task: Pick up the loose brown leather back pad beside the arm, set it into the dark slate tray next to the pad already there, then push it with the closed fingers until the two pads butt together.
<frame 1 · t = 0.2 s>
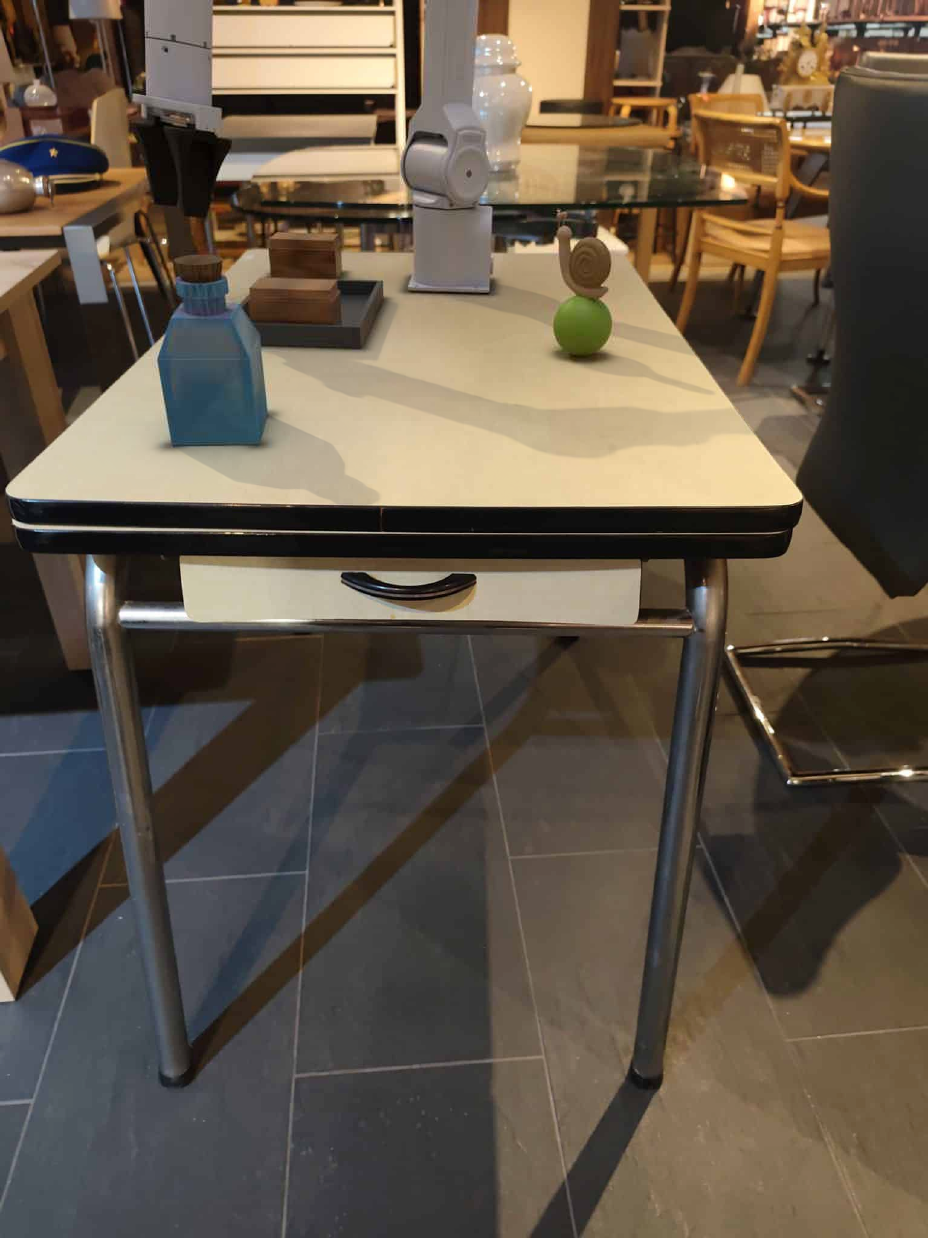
hand: (179, 210, 85), 10 cm above the table, tool pointing down, fingers open, 7 cm apart
pad b: (307, 275, 109), on the table
perfume bottle: (222, 431, 66), on the table
tray: (310, 319, 92), on the table
snail figurine: (575, 355, 84), on the table
pad a: (297, 331, 86), resting on tray
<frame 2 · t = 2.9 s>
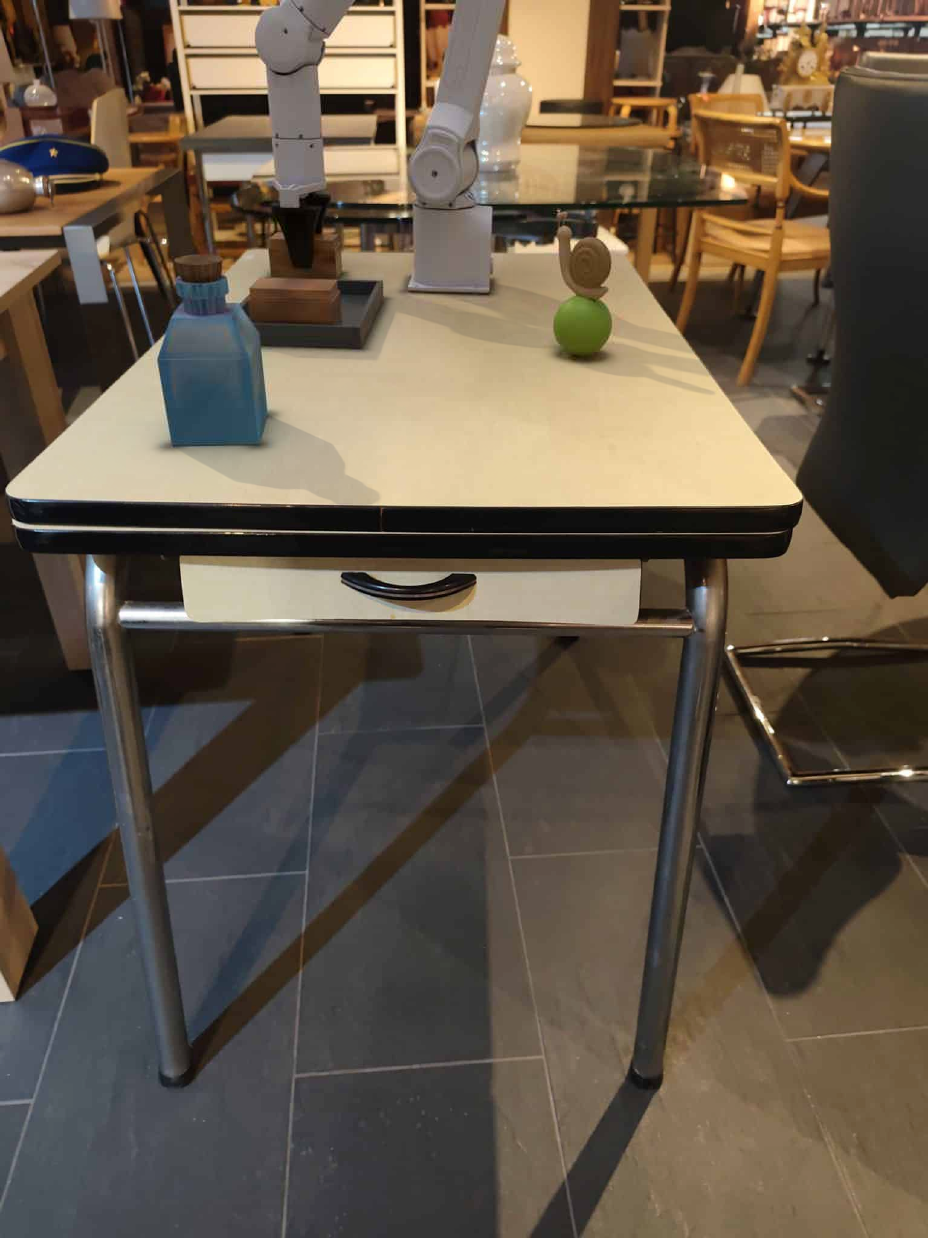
hand: (306, 263, 108), 1 cm above the table, tool pointing down, fingers closed on pad b, 4 cm apart
pad b: (307, 275, 109), on the table, touching gripper
everything else where it was.
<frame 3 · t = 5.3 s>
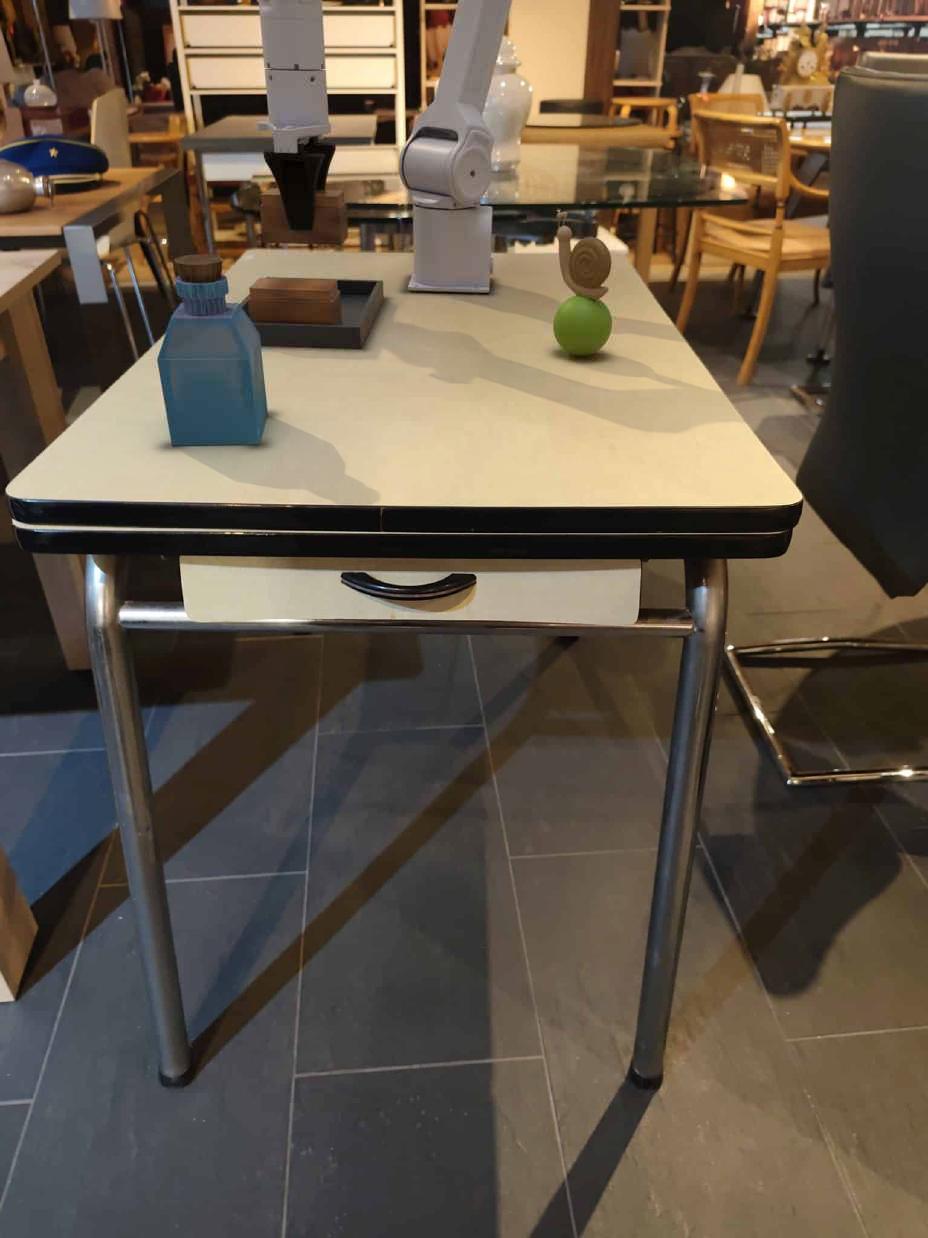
hand: (306, 225, 91), 8 cm above the table, tool pointing down, fingers closed on pad b, 4 cm apart
pad b: (306, 239, 92), point 7 cm above the table, touching gripper
everything else where it was.
when the fingers open (2 cm above the table, at t = 7.6 s): pad b stays where it is, resting on tray.
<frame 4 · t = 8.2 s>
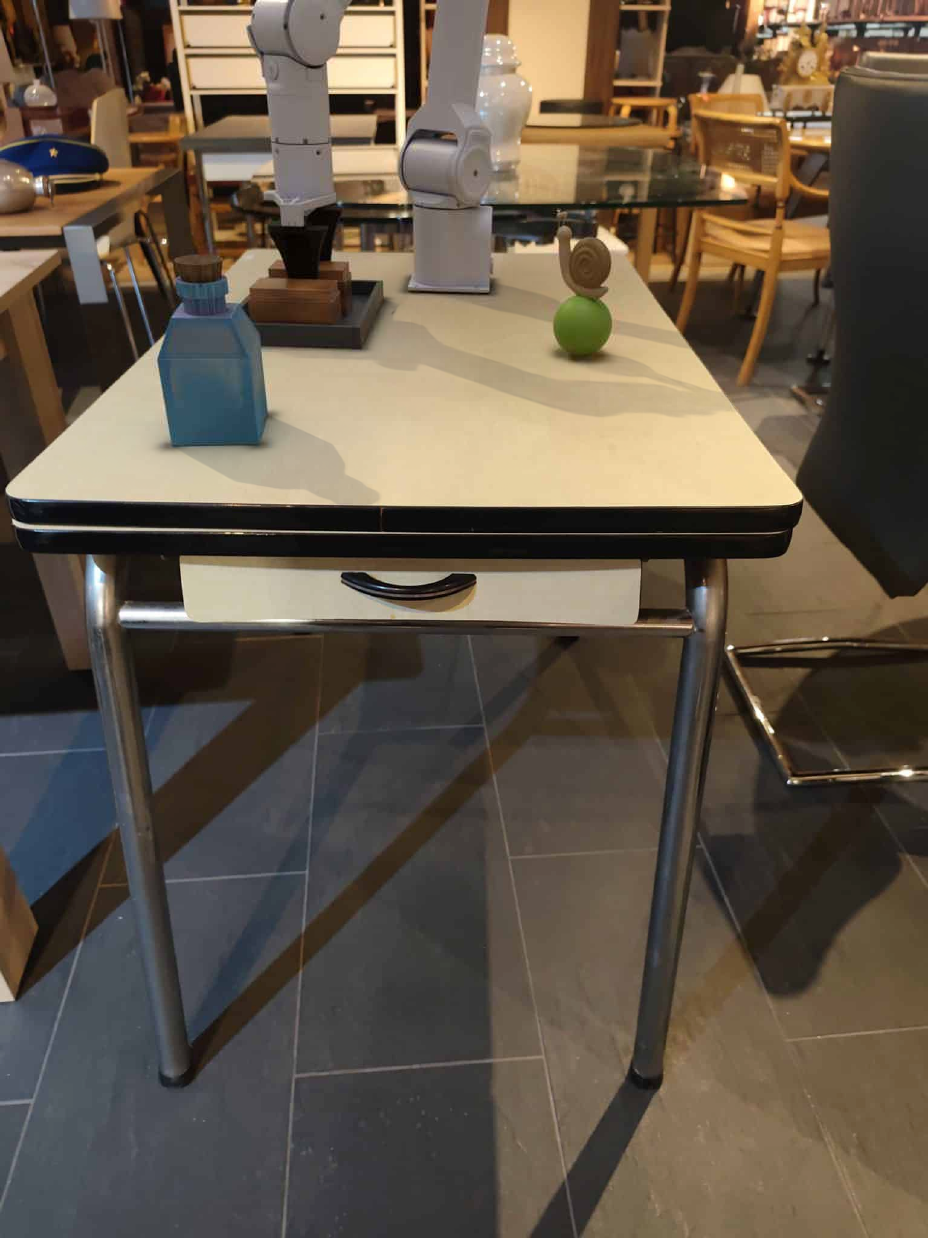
hand: (311, 289, 92), 3 cm above the table, tool pointing down, fingers open, 7 cm apart
pad b: (312, 309, 93), resting on tray
everything else where it was.
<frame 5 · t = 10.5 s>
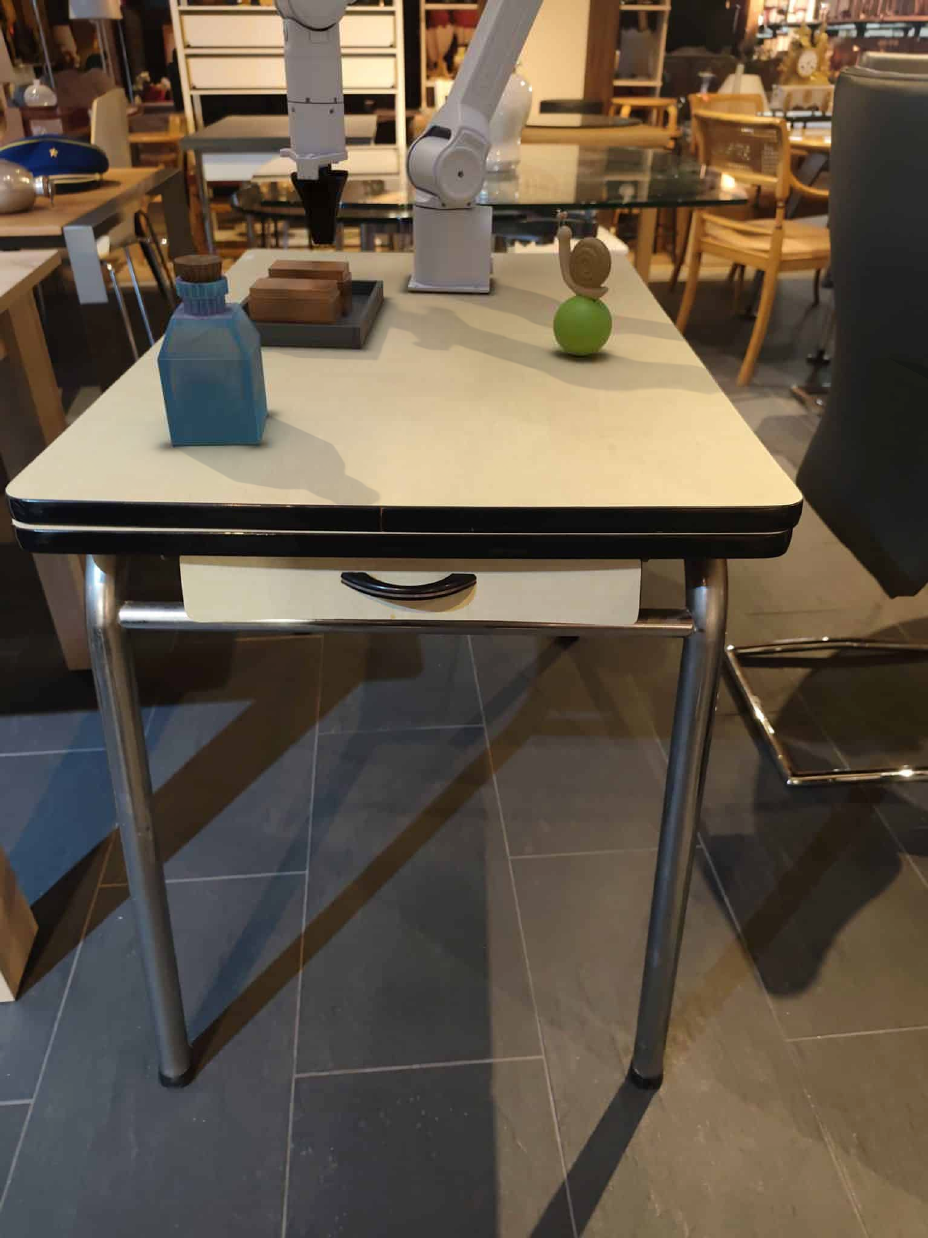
hand: (324, 243, 98), 5 cm above the table, tool pointing down, fingers closed
nothing on the table moved.
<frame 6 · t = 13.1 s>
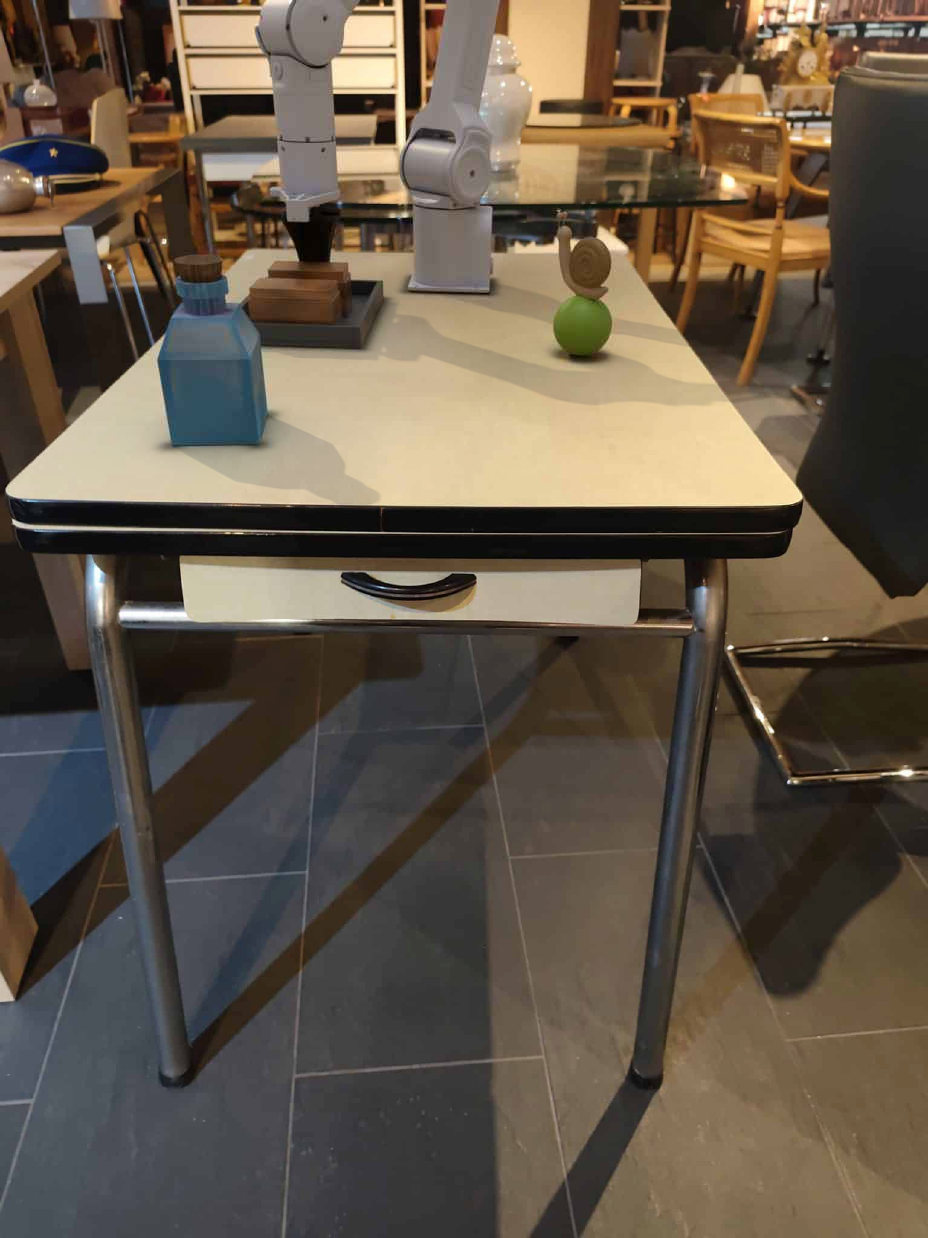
hand: (316, 283, 95), 3 cm above the table, tool pointing down, fingers closed
pad b: (311, 310, 93), point 1 cm above the table, touching gripper, tray
everything else where it was.
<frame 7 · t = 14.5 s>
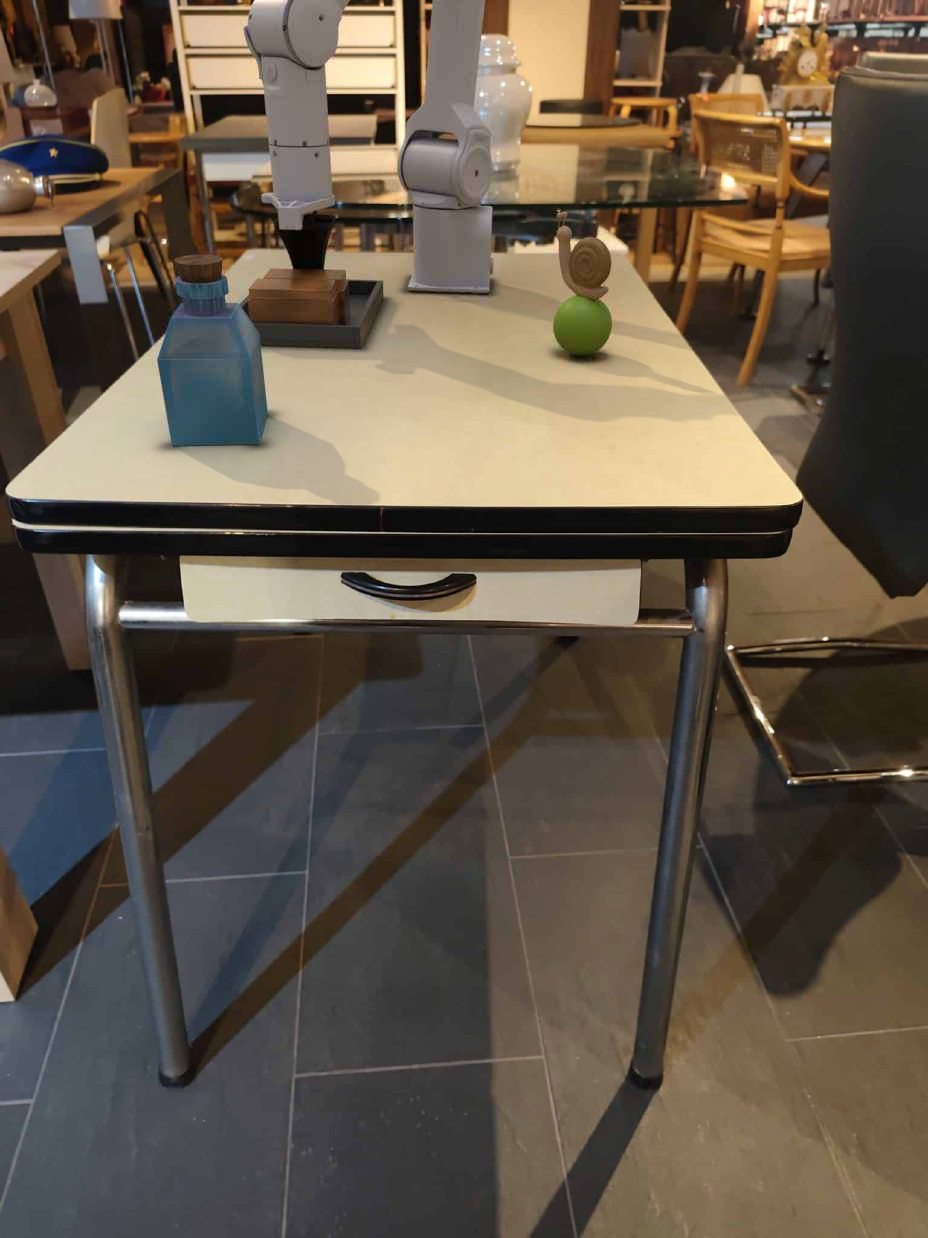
hand: (310, 292, 92), 2 cm above the table, tool pointing down, fingers closed
pad b: (308, 319, 90), point 1 cm above the table, touching gripper, pad a, tray
pad a: (296, 332, 86), point 1 cm above the table, touching pad b, tray
everything else where it was.
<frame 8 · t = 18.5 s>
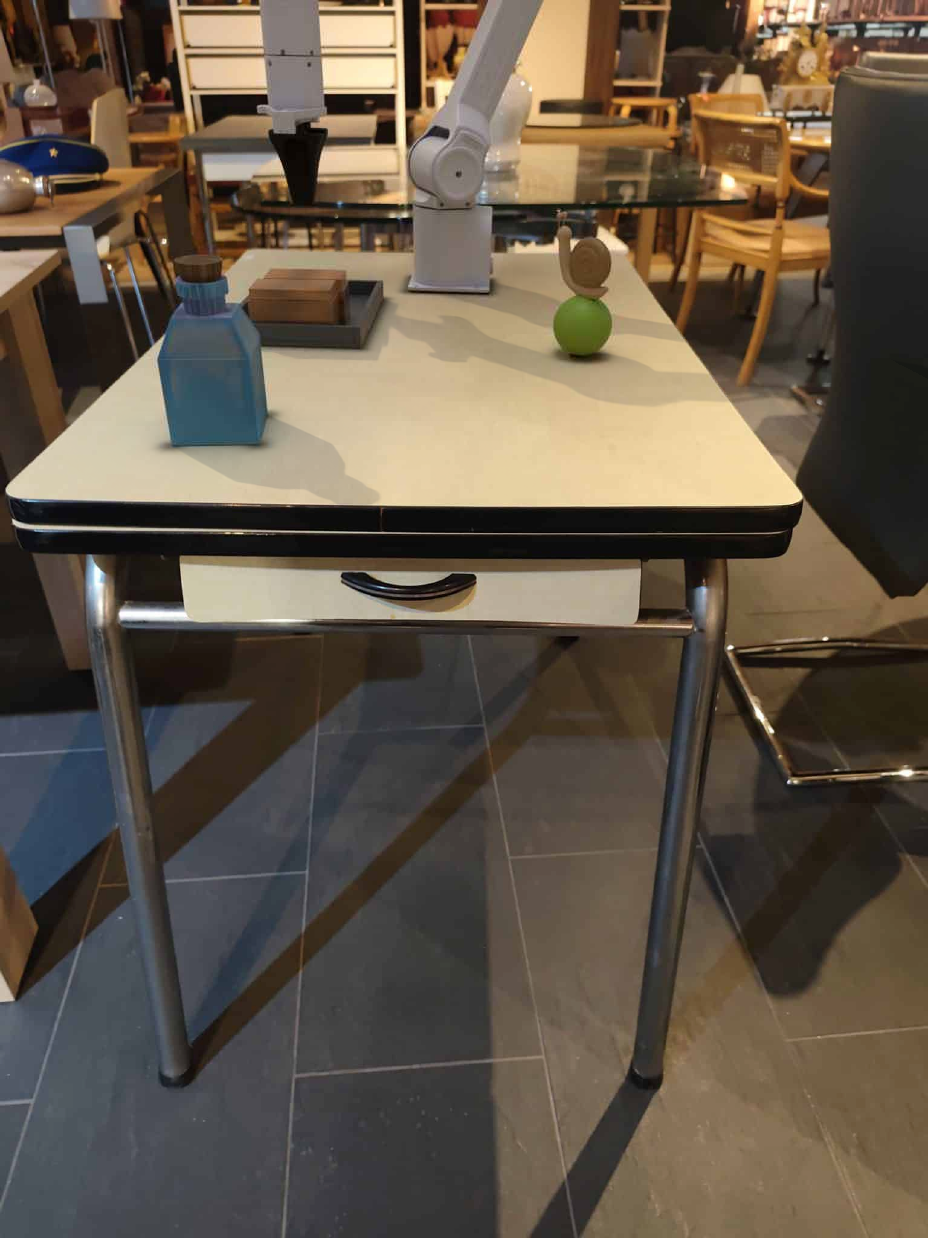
hand: (303, 203, 96), 9 cm above the table, tool pointing down, fingers closed
pad b: (308, 319, 90), resting on tray, touching pad a
everything else where it was.
at the end: pad b 1.6 cm off-centre in the tray, point 0.5 cm above the tray's base; pad b 4.5 cm from the pad a (horizontally); pad b tilted 0° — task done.
